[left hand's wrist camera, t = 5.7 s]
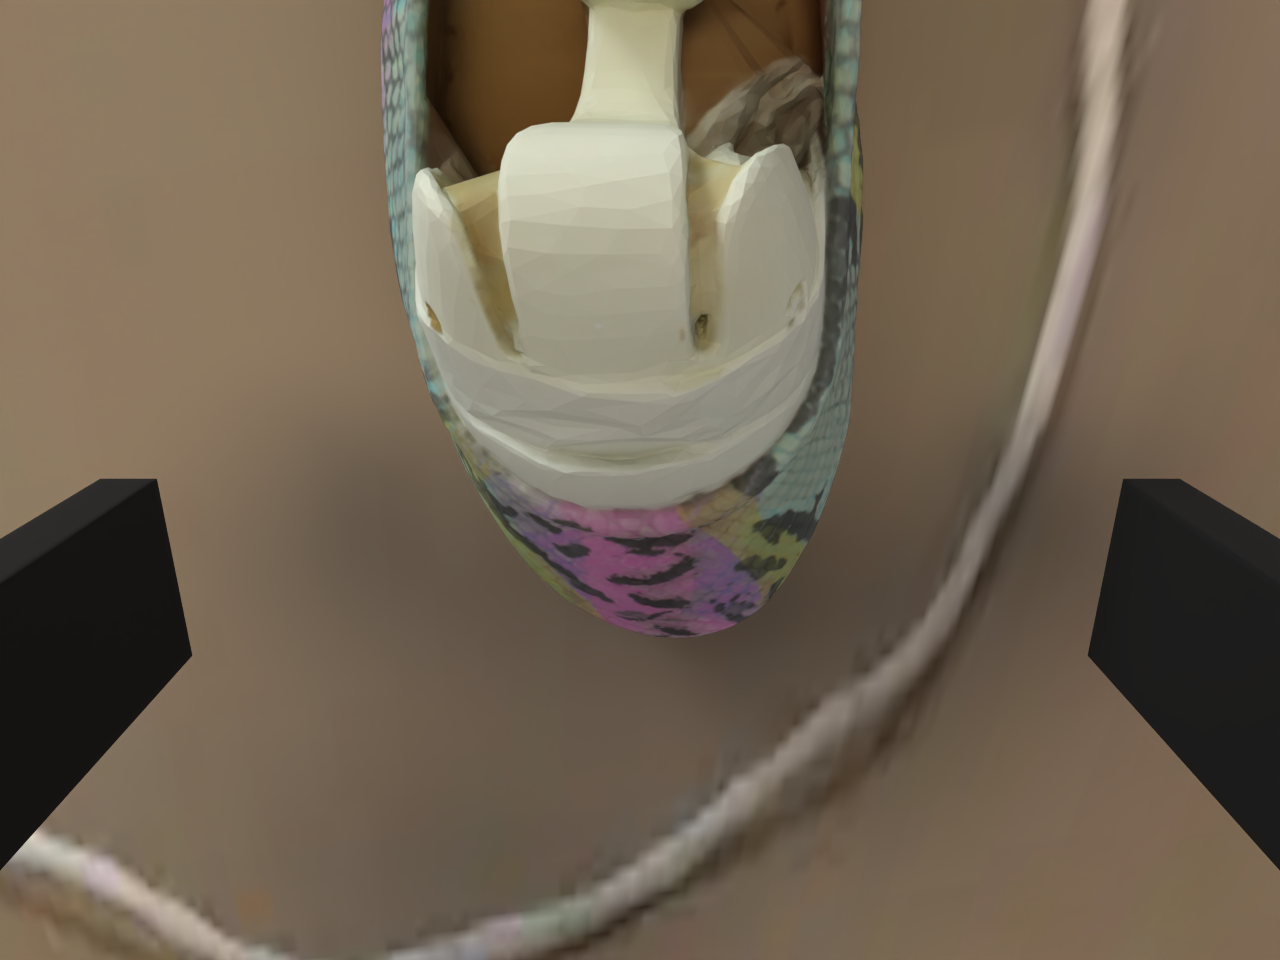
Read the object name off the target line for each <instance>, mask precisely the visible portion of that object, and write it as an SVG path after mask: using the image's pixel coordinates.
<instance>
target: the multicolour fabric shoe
mask: <svg viewBox="0 0 1280 960" xmlns="http://www.w3.org/2000/svg"><path fill="white" fill-rule="evenodd" d="M861 7H862V0H384V6H383V19H382V37H381V89H382V113H383V137H384V153H385V165H386V178H387V192H388V207H389V222H390V233H391V239H392V245H393V252H394V258H395V265H396V271H397V276H398V281H399V286H400V291H401V296H402V301H403V304H404V307H405V311H406V314H407V317H408V320H409V324H410V327H411V330H412V334H413V337H414V339H415V342H416V346H417V351H418V355H419V360H420V363H421V367H422V370H423V374H424V377H425V381H426V384H427V387H428V389H429V392H430V395H431V397H432V400H433V402H434V404H435V406H436V407H437V409H438V411H439V414H440V416H441V419H442V421H443V422H444V424H445V426H446V428H447V429H448V431H449V432H450V434H451V436H452V439H453V441H454V443H455V446H456V448H457V451H458V453H459V456H460V458H461V460H462V462H463V464H464V467H465V469H466V471H467V473H468V475H469V476H470V478H471V480H472V482H473V484H474V486H475V487H476V489H477V491H478V493H479V495H480V497H481V498H482V500H483V501H484V503H485V504H486V506H487V508H488V509H489V511H490V512H491V514H492V515H493V517H494V518H495V520H496V522H497V523H498V525H499V526H500V528H501V529H502V531H503V533H504V534H505V536H506V537H507V539H508V540H509V541H510V543H511V544H512V545H513V546H514V548H515V549H516V550H517V552H518V553H519V554H520V555H521V557H522V558H523V559H524V560H525V561H526V563H527V564H528V565H529V566H530V567H531V569H532V570H533V571H534V572H535V573H536V574H537V575H538V576H540V577H541V578H542V579H543V580H544V581H545V582H546V583H547V584H549V585H550V586H551V587H552V588H553V589H554V590H555V591H556V592H557V593H558V594H559V595H561V596H562V597H563V598H565V599H566V600H567V601H569V602H570V603H572V604H574V605H575V606H577V607H579V608H581V609H582V610H584V611H586V612H588V613H589V614H591V615H593V616H595V617H598V618H600V619H602V620H604V621H606V622H609V623H611V624H613V625H616V626H619V627H622V628H625V629H628V630H631V631H633V632H636V633H641V634H646V635H650V636H658V637H670V638H684V637H696V636H701V635H705V634H710V633H714V632H717V631H720V630H723V629H726V628H729V627H731V626H733V625H735V624H737V623H739V622H740V621H742V620H744V619H746V618H747V617H749V616H750V615H752V614H753V613H754V612H756V611H757V610H759V609H760V608H761V607H762V606H763V605H764V604H765V603H766V602H768V601H769V600H770V598H771V596H772V595H773V594H774V593H775V592H776V591H777V590H778V588H779V587H780V586H781V585H782V583H783V582H784V581H785V579H786V578H787V576H788V575H789V573H790V572H791V570H792V568H793V567H794V565H795V563H796V562H797V560H798V558H799V557H800V555H801V553H802V551H803V550H804V548H805V546H806V545H807V543H808V541H809V540H810V538H811V536H812V534H813V532H814V530H815V527H816V525H817V523H818V520H819V518H820V515H821V513H822V511H823V508H824V506H825V504H826V501H827V498H828V495H829V492H830V489H831V486H832V483H833V480H834V477H835V474H836V471H837V468H838V465H839V461H840V457H841V454H842V450H843V446H844V442H845V438H846V434H847V429H848V425H849V421H850V411H851V390H852V376H853V362H854V348H855V340H854V332H855V320H856V309H857V287H858V276H859V265H860V253H861V241H862V226H863V214H862V206H861V203H862V192H863V191H862V182H863V156H862V148H861V140H860V128H859V118H858V114H857V107H856V89H857V78H858V66H859V52H860V19H861Z"/></svg>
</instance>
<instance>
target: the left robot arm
mask: <svg viewBox="0 0 1280 960" xmlns="http://www.w3.org/2000/svg"><path fill="white" fill-rule="evenodd" d="M191 656H192V652H191V647H190V642H189V637H188V632H187V627H186V622H185V617H184V612H183V607H182V602H181V597H180V592H179V587H178V582H177V577H176V572H175V567H174V562H173V557H172V552H171V547H170V543H169V538H168V533H167V528H166V523H165V518H164V513H163V508H162V503H161V498H160V493H159V488H158V483H157V479H99V480H98V481H96V482H94V483H93V484H91V485H89V486H88V487H86V488H84V489H83V490H81V491H79V492H78V493H76V494H74V495H73V496H71V497H69V498H68V499H66V500H64V501H63V502H61V503H59V504H58V505H56V506H54V507H53V508H51V509H49V510H48V511H46V512H44V513H43V514H41V515H39V516H38V517H36V518H34V519H33V520H31V521H29V522H28V523H26V524H24V525H23V526H21V527H19V528H18V529H16V530H14V531H13V532H11V533H9V534H8V535H6V536H4V537H3V538H1V539H0V870H1V869H2V868H3V867H4V866H5V864H6V863H7V862H8V861H9V860H10V859H11V858H12V857H13V856H14V854H15V853H16V852H17V851H18V850H19V849H20V848H21V847H22V845H23V844H24V843H25V842H26V841H27V840H28V839H29V838H30V836H31V835H32V834H33V833H34V832H35V831H36V830H37V829H38V828H39V826H40V825H41V824H42V823H43V822H44V821H45V820H46V819H47V817H48V816H49V815H50V814H51V813H52V812H53V811H54V810H55V808H56V807H57V806H58V805H59V804H60V803H61V802H62V801H63V800H64V798H65V797H66V796H67V795H68V794H69V793H70V792H71V791H72V789H73V788H74V787H75V786H76V785H77V784H78V783H79V782H80V781H81V779H82V778H83V777H84V776H85V775H86V774H87V773H88V772H89V770H90V769H91V768H92V767H93V766H94V765H95V764H96V763H97V761H98V760H99V759H100V758H101V757H102V756H103V755H104V754H105V753H106V751H107V750H108V749H109V748H110V747H111V746H112V745H113V744H114V742H115V741H116V740H117V739H118V738H119V737H120V736H121V735H122V734H123V732H124V731H125V730H126V729H127V728H128V727H129V726H130V725H131V723H132V722H133V721H134V720H135V719H136V718H137V717H138V716H139V714H140V713H141V712H142V711H143V710H144V709H145V708H146V707H147V706H148V704H149V703H150V702H151V701H152V700H153V699H154V698H155V697H156V695H157V694H158V693H159V692H160V691H161V690H162V689H163V688H164V687H165V685H166V684H167V683H168V682H169V681H170V680H171V679H172V678H173V676H174V675H175V674H176V673H177V672H178V671H179V670H180V669H181V667H182V666H183V665H184V664H185V663H186V662H187V661H188V660H189V659H190V657H191ZM1088 656H1089V657H1090V659H1091V660H1092V661H1093V662H1094V663H1095V664H1096V665H1097V666H1098V667H1099V669H1100V670H1101V671H1102V672H1103V673H1104V674H1105V675H1106V676H1107V678H1108V679H1109V680H1110V681H1111V682H1112V683H1113V684H1114V685H1115V687H1116V688H1117V689H1118V690H1119V691H1120V692H1121V693H1122V694H1123V695H1124V697H1125V698H1126V699H1127V700H1128V701H1129V702H1130V703H1131V704H1132V706H1133V707H1134V708H1135V709H1136V710H1137V711H1138V712H1139V713H1140V714H1141V716H1142V717H1143V718H1144V719H1145V720H1146V721H1147V722H1148V723H1149V725H1150V726H1151V727H1152V728H1153V729H1154V730H1155V731H1156V732H1157V734H1158V735H1159V736H1160V737H1161V738H1162V739H1163V740H1164V741H1165V742H1166V744H1167V745H1168V746H1169V747H1170V748H1171V749H1172V750H1173V751H1174V753H1175V754H1176V755H1177V756H1178V757H1179V758H1180V759H1181V760H1182V761H1183V763H1184V764H1185V765H1186V766H1187V767H1188V768H1189V769H1190V770H1191V772H1192V773H1193V774H1194V775H1195V776H1196V777H1197V778H1198V779H1199V781H1200V782H1201V783H1202V784H1203V785H1204V786H1205V787H1206V788H1207V789H1208V791H1209V792H1210V793H1211V794H1212V795H1213V796H1214V797H1215V798H1216V800H1217V801H1218V802H1219V803H1220V804H1221V805H1222V806H1223V807H1224V808H1225V810H1226V811H1227V812H1228V813H1229V814H1230V815H1231V816H1232V817H1233V819H1234V820H1235V821H1236V822H1237V823H1238V824H1239V825H1240V826H1241V828H1242V829H1243V830H1244V831H1245V832H1246V833H1247V834H1248V835H1249V836H1250V838H1251V839H1252V840H1253V841H1254V842H1255V843H1256V844H1257V845H1258V847H1259V848H1260V849H1261V850H1262V851H1263V852H1264V853H1265V854H1266V856H1267V857H1268V858H1269V859H1270V860H1271V861H1272V862H1273V863H1274V864H1275V866H1276V867H1277V868H1278V869H1279V870H1280V539H1279V538H1277V537H1276V536H1274V535H1272V534H1271V533H1269V532H1267V531H1266V530H1264V529H1262V528H1261V527H1259V526H1257V525H1256V524H1254V523H1252V522H1251V521H1249V520H1247V519H1246V518H1244V517H1242V516H1241V515H1239V514H1237V513H1236V512H1234V511H1232V510H1231V509H1229V508H1227V507H1226V506H1224V505H1222V504H1221V503H1219V502H1217V501H1216V500H1214V499H1212V498H1211V497H1209V496H1207V495H1206V494H1204V493H1202V492H1201V491H1199V490H1197V489H1196V488H1194V487H1192V486H1191V485H1189V484H1187V483H1186V482H1184V481H1182V480H1181V479H1123V483H1122V488H1121V493H1120V498H1119V503H1118V508H1117V513H1116V518H1115V523H1114V528H1113V533H1112V538H1111V543H1110V547H1109V552H1108V557H1107V562H1106V567H1105V572H1104V577H1103V582H1102V587H1101V592H1100V597H1099V602H1098V607H1097V612H1096V617H1095V622H1094V627H1093V632H1092V637H1091V642H1090V647H1089V652H1088Z"/></svg>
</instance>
